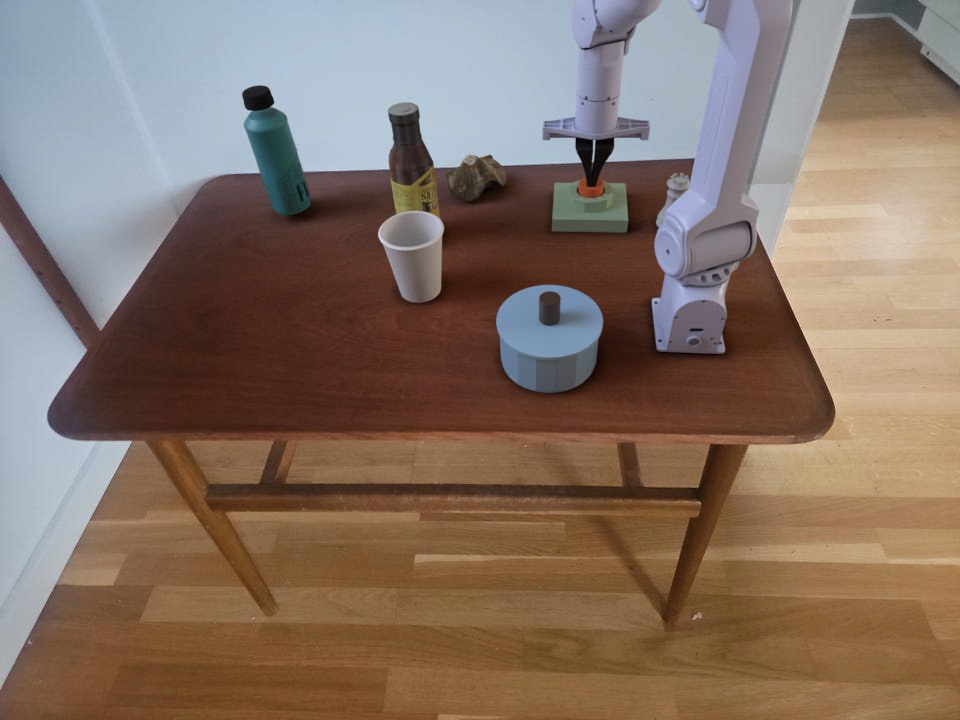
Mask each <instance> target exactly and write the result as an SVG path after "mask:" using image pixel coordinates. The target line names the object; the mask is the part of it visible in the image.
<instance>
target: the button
mask: <svg viewBox="0 0 960 720" xmlns="http://www.w3.org/2000/svg"><path fill="white" fill-rule="evenodd" d="M579 180H580V181H579ZM579 180H578V181H579V191H578V194H579V195H580V196H582V197H585V198H596V197H599V196H602V194H603V184H604V183H603V181H604V180H602V179H601V178H599V177H598V181H597V185H596V187H587V181H586V176H585V177H583V178H581V179H579Z"/></svg>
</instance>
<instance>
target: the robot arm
mask: <svg viewBox="0 0 960 720" xmlns="http://www.w3.org/2000/svg"><path fill="white" fill-rule="evenodd" d="M662 1H663V0H574V1H573V4H572V7H571V14H570V16H571V17H570V23H571V31H572V35H573V38H574V40H575V43H576V44H577V46H578V53H577V73H576V93H575V94H576V95H575V113H574V115H575V116H571V117H565V118H559V119H552V120H543V121H542V137H541V138H542V139H541V140H542V141H550V140H551V139H574V141H575V142H574V143H575V145H574V148H575V151H576V154H577V156H578V158H579V160H580V163H581V164H582V167H583V170H584V175H585V177H586V181H587V187H596V185H597V181H598V178H599V177H600V174H601V172H602V170H603V167H604V166H605V164H606V162H607V161H608V159H609V158H610V157H611V155H612V154H613V152H614V149H615V139H639V140H640V141H649V139H650V130H651V124H650V120H647V119H646V120H645V119H644V120H643V119H633V118H628V117H624V116H623V117H622V116H619V107H620V96H621V87H622V77H623V76H622V75H623V66H624V57H625V56H627V55H628V53H629V50H630V43H631V41H632V38H633V37H634V35H635V33H636V29H637V26H638V24H640V23H641V22H642V21H644V20H645V19H647V18H648V17H649V16H651V15H652V14H653V13H655V12H656V11H657V10H658V8H659V7H660V6H661V4H662ZM686 1H687V2H688V4H689V5H690V6H691V9H692V10H693V11H694V12H695V14H696V16H697V17H698V18H699V20H700V21H701V23H702V24H705V25H708V26H710V27H713V28H715V29H716V31H717V32H718V35H719V41H718V45H717V51H716V56H715V60H714V64H713V70H712V73H711V80H710V84H709V89H708V93H707V98H706V104H705V108H704V114H703V118H702V123H701V128H700V133H699V139H698V143H697V147H696V152H695V156H694V161H693V166H692V171H691V176H690V179H689V181H690V185H689V188H688V189H687V190H686V192H685V193H684V194H683V195H682V196H681V197H679V198H678V199H677V200H676V201H675V202H674V203H673V204H672V205H671V206H670V207H669V208H668V209H667V210H666V213H665V218H664V222H663V224H662V225H661V226H660V228H659V227H658V229H657V231H656V234H655V237H654V238H655V239H654V243H653V245H654V254H655V258H656V261H657V263H658V265H659V267H660V269H661V270H662V272H664V278H663V282H662V288H661V293H660V297H652V298H651V309H652V310H651V311H652V320H653V329H654V338H655V339H654V341H655V349H656V351H658V352H662V353H686V354H687V353H688V354H690V353H691V354H712V355H716V354H717V355H723V354H725V352H726V346H725V341H724V337H723V331H724V328H725V324H726V321H727V317H728V311H727V307H726V293H727V290H728V286H729V282H730V279H731V274H732V273H733V272H734V271H736V270H738V268H739V265H740V261H743V260H746V259H748V258H749V257H751V256H752V255H753V253H754V251H755V249H756V246H757V241H758V231H757V224H758V223H757V222H758V218H759V214H760V208H759V207H758V206H757V204H756V203H755V201H754V200H753V199H752V198H751V197H750V196H749V195H748V194H747V193H745V192H744V191H745V188H746V184H747V180H748V177H749V174H750V170H751V166H752V163H753V159H754V155H755V152H756V149H757V145H758V141H759V139H760V138H759V137H760V134H761V130H762V126H763V124H764V120H765V116H766V112H767V109H768V106H769V101H770V98H771V94H772V91H773V87H774V84H775V80H776V76H777V73H778V70H779V66H780V62H781V59H782V55H783V52H784V48H785V44H786V41H787V37H788V33H789V30H790V26H791V21H792V16H793V15H792V14H793V3H794V2H793V1H794V0H686Z"/></svg>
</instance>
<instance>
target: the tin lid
mask: <svg viewBox="0 0 960 720" xmlns="http://www.w3.org/2000/svg"><path fill="white" fill-rule="evenodd" d="M603 317H604V316H603V314H602V311H601V309H600V306H599V305H598V304H597V303H596V302H595V301H594V300H593V298H591V297H590V296H588V295H587V294H586V293H583V292H581V291H580V290H578V289H574V288H573V287H568V286H564V285H558V284H540V285H535V286H529V287H526V288H524V289H520V290H519V291H517V292H515V293H513V294H511V295H510V296H509V297H508V298H506V299H505V300H504V302H503V303H501V306H500V307H499V309H498V311H497V314H496V317H495V319H496V320H495V321H496V323H495V325H496V330H497V333H498V336H499V338H500V337H501V339H502V340H503V341H504V343H505V344H506V345H507V346H508V347H510V348H511V349H512V350H514V351H515V352H517V353H519V354H521V355H524V356H526V357H530V358H533V359H539V360H562V359H567V358H571V357H574V356H577V355H579V354H581V353H583V352H585V351H586V350H588V349H589V348H590V347H592V346H593V345H594V344H595V343H596V341H597V340H598V341H599V339H600V337H601V335H602V332H603V328H604V318H603Z"/></svg>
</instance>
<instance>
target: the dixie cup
mask: <svg viewBox="0 0 960 720" xmlns="http://www.w3.org/2000/svg"><path fill="white" fill-rule="evenodd" d="M444 232H445V225H444V223H443V221H442V219H441V218H440V219H439V218H438V217H437V216H435V215H433V214H431V213H428V212H423V211H408V212H403V213H399V214H396V213H395V215H392V216H391V217H389V218H388V219H386V220H385V221H384V222H383V223H382V224H381V225H380V227H379V229H378V233H377V234H378V235H377V236H378V239H379V241H380V243H381V244H382V245H383V249H384V251H385V254H386V256H387V259H388V262H389V265H390V268H391V270H392V273H393V276H394V279H395V282H396V284H397V287H398V289H399V293H400V295H401V297H402V298H403V299H404V300H406V301H408V302H410V303H415V304H421V303H426V302H429V301H432V300H434V299H435V298H436V297H437V296H439V294H440V293H441V291H442V290H441V289H442V262H443V261H442V259H443V234H444Z"/></svg>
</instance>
